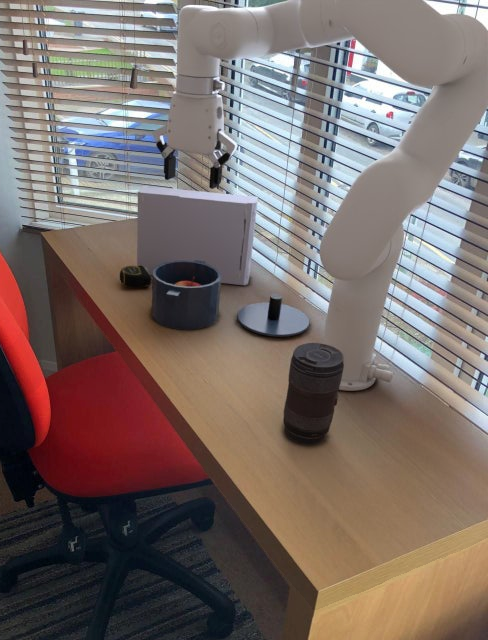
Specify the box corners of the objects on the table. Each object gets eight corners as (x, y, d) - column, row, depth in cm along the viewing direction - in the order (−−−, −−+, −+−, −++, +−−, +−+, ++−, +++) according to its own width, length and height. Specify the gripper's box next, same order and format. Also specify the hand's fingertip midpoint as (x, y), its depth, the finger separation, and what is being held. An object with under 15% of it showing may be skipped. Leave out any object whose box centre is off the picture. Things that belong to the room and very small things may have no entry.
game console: (247, 286, 156) (256, 204, 145) (136, 274, 159) (137, 192, 148) (249, 277, 161) (258, 196, 150) (141, 265, 163) (142, 185, 152)
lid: (313, 314, 145) (317, 288, 142) (302, 344, 133) (306, 318, 130) (246, 302, 149) (249, 277, 145) (229, 331, 136) (232, 304, 133)
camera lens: (295, 412, 112) (309, 336, 104) (337, 432, 108) (355, 353, 100) (270, 433, 107) (282, 353, 99) (313, 454, 103) (329, 373, 94)
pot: (227, 302, 148) (231, 262, 143) (203, 340, 132) (206, 297, 127) (168, 291, 151) (169, 252, 146) (137, 327, 135) (137, 285, 130)
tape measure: (152, 289, 152) (152, 274, 150) (123, 292, 150) (123, 276, 148) (144, 278, 157) (144, 263, 155) (116, 280, 155) (116, 265, 153)
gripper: (249, 89, 116) (240, 186, 126) (165, 78, 123) (162, 171, 132) (232, 94, 111) (224, 195, 120) (144, 82, 117) (143, 179, 126)
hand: (191, 182), depth 126 cm, fingers open, 9 cm apart
